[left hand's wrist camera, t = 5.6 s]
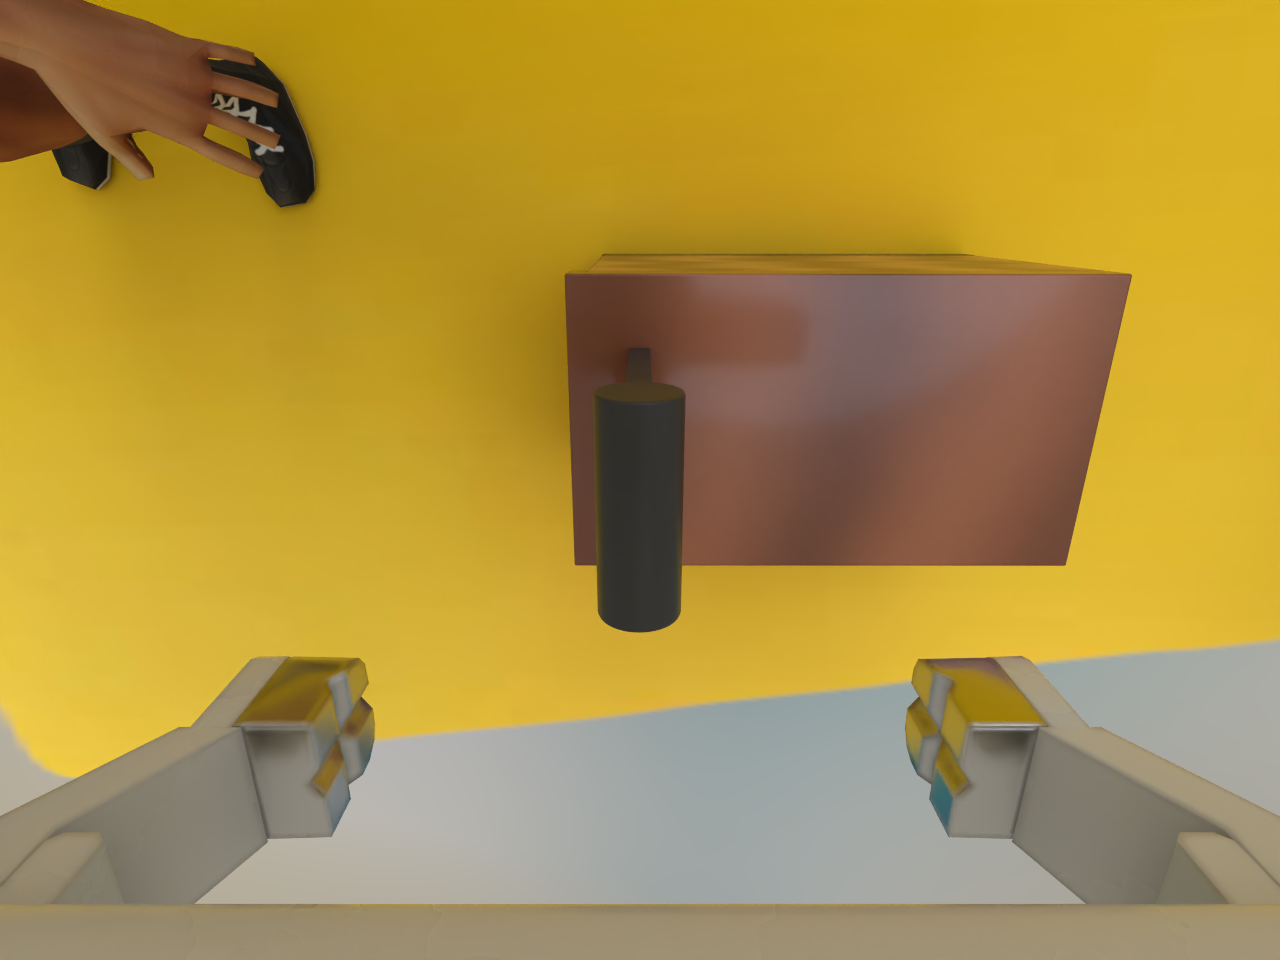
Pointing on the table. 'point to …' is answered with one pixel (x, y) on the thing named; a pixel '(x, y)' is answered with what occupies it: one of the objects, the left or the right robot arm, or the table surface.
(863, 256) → the chest
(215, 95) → the figurine
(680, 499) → the lid
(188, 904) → the left robot arm
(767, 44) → the table surface
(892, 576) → the table surface
